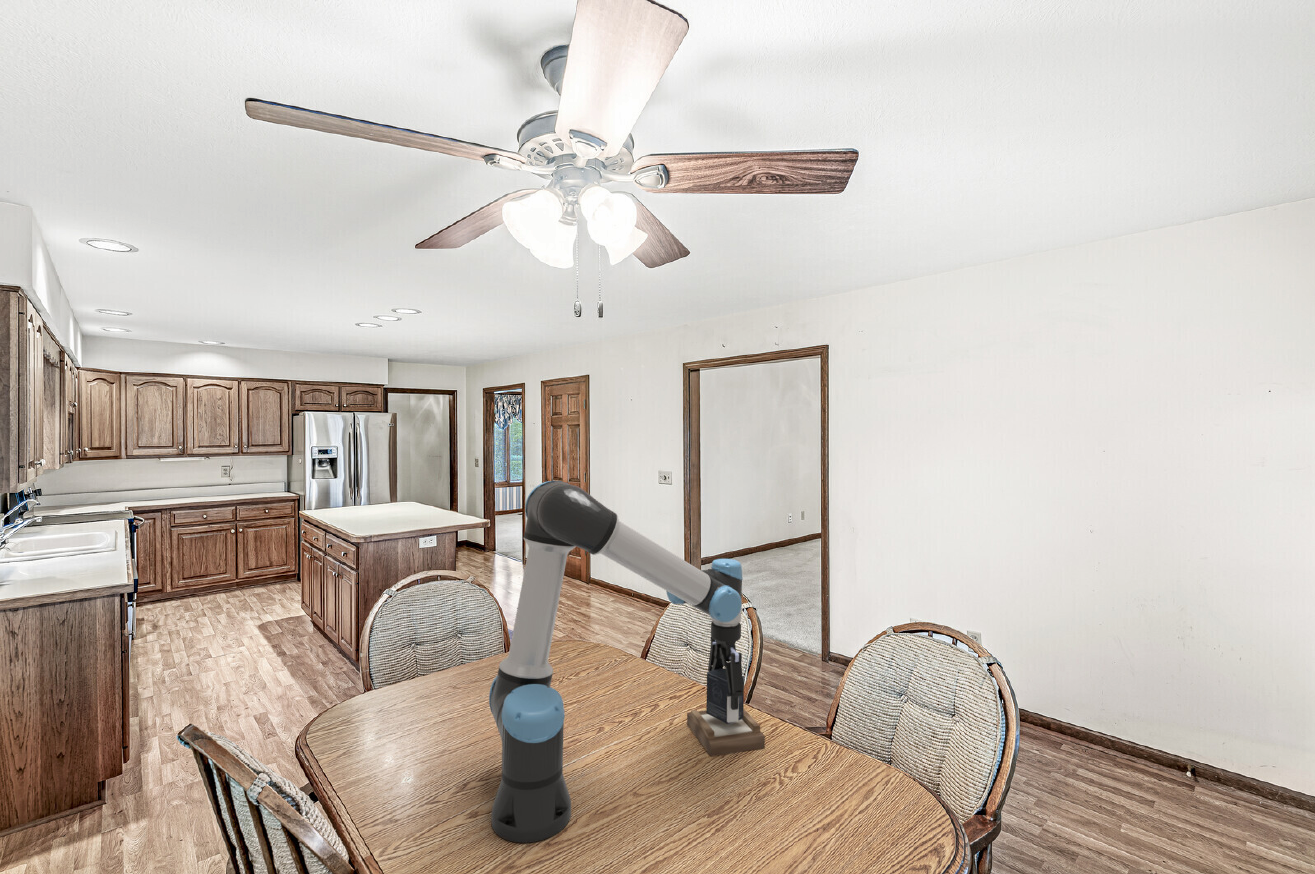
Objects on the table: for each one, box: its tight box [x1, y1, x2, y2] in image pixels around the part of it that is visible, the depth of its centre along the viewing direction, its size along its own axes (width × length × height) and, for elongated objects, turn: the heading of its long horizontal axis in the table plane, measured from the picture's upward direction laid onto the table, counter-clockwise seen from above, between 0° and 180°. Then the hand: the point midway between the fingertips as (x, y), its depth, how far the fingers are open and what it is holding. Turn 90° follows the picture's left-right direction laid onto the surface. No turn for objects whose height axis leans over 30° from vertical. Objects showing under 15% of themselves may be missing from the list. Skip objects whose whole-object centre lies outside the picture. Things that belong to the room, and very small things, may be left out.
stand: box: [686, 709, 766, 757], centre depth 147 cm, size 16×14×4 cm
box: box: [706, 667, 745, 725], centre depth 147 cm, size 8×6×11 cm
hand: (724, 711), depth 147 cm, fingers closed on box, 9 cm apart
